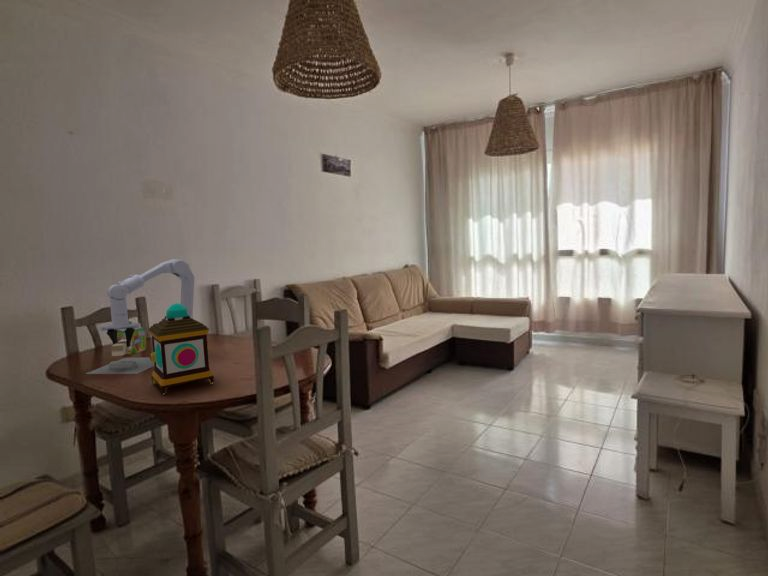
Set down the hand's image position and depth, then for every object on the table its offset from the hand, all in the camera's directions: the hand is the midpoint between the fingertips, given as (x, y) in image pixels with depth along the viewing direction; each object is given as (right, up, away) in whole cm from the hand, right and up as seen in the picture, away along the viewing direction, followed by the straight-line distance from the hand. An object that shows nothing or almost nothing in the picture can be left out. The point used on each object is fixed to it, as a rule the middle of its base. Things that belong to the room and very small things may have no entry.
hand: (122, 346), depth 184 cm
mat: (+1, -9, +5) cm, 10 cm away
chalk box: (-12, -7, +29) cm, 33 cm away
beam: (0, -2, 0) cm, 2 cm away
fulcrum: (0, -9, +1) cm, 9 cm away
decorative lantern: (+34, -11, -21) cm, 42 cm away
